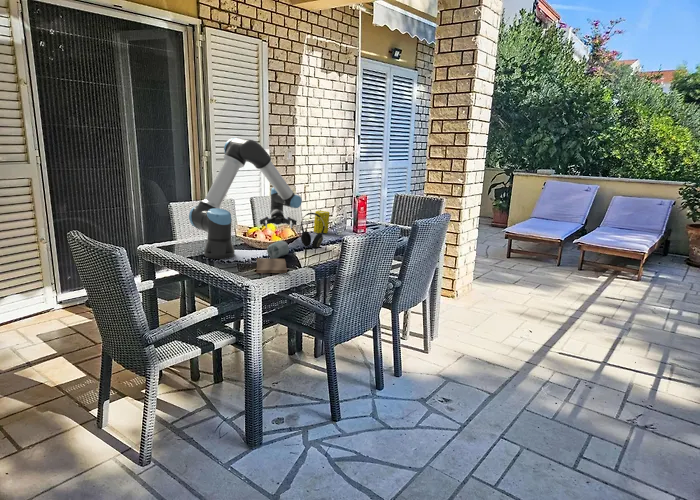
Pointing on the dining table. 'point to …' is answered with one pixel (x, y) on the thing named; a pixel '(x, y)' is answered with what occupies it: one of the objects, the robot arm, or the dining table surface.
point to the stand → (271, 265)
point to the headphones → (307, 238)
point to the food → (319, 223)
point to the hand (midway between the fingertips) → (278, 225)
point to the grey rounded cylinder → (278, 249)
